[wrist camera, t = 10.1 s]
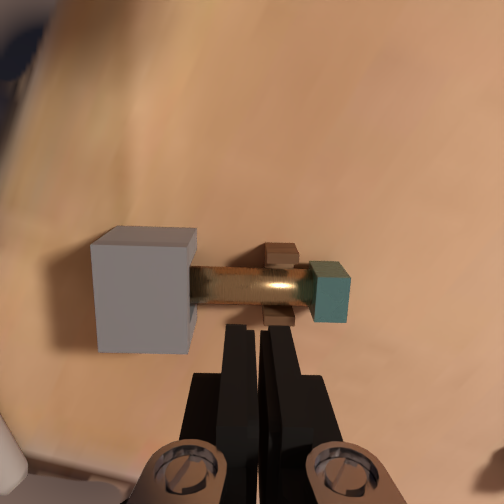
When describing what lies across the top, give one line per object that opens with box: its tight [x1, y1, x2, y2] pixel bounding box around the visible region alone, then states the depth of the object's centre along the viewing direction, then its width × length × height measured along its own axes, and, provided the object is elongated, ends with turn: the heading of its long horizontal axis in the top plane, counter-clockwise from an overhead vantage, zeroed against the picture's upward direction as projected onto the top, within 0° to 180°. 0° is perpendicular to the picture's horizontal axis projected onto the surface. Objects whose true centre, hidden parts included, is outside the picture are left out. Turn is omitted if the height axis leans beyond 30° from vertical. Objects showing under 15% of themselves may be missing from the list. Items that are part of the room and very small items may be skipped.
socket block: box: [90, 226, 197, 354], centre depth 39 cm, size 10×8×8 cm
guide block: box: [262, 243, 299, 326], centre depth 41 cm, size 7×3×4 cm, turn 178°
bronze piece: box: [189, 261, 351, 323], centre depth 39 cm, size 4×18×5 cm, turn 88°
